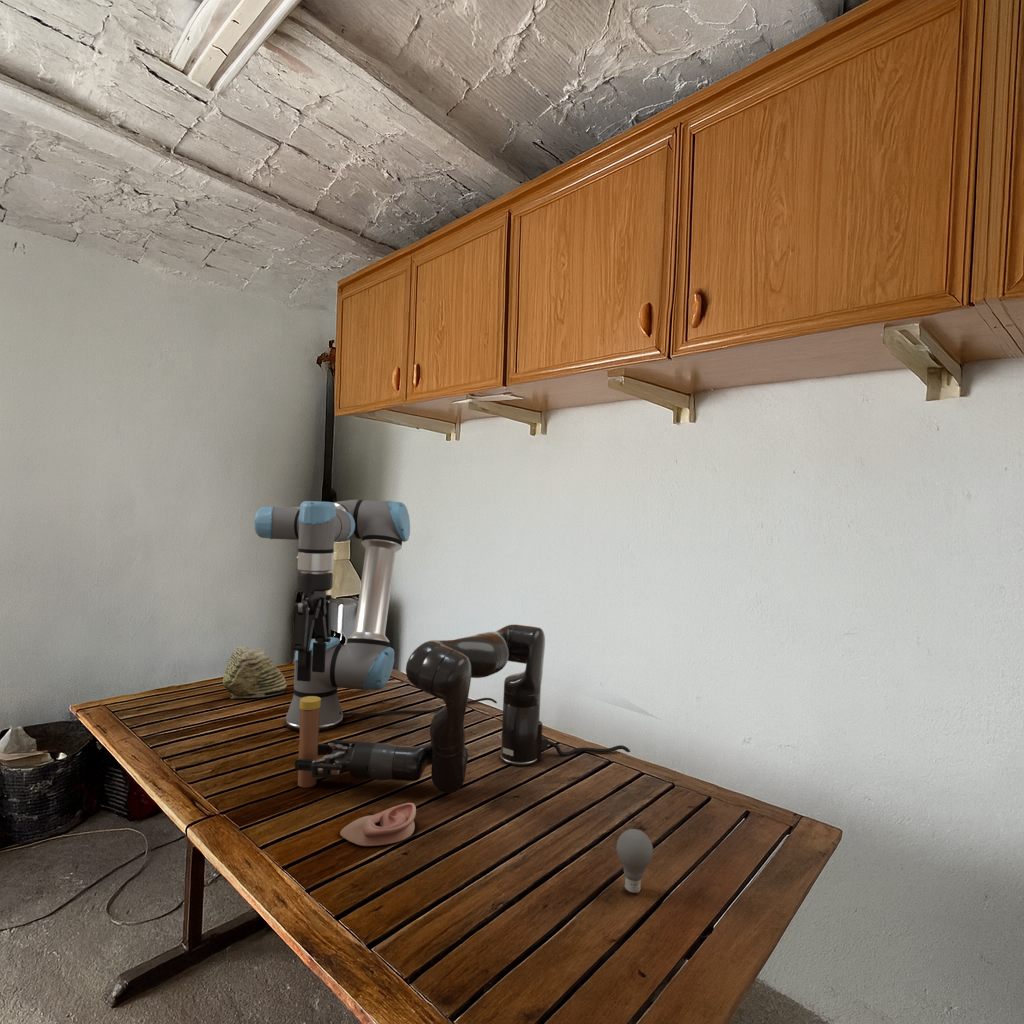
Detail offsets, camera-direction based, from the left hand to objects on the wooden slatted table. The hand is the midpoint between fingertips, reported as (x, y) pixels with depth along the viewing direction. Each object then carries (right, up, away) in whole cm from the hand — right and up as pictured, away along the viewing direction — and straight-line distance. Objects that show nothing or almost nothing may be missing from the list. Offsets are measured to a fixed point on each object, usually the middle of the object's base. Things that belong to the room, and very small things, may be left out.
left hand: (311, 675), depth 139 cm
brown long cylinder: (-1, -24, 0) cm, 24 cm away
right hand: (-2, -18, 0) cm, 18 cm away
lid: (0, -5, 0) cm, 5 cm away
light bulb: (+64, -27, -33) cm, 78 cm away
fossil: (-36, -21, +59) cm, 72 cm away
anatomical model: (+19, -25, -18) cm, 36 cm away
